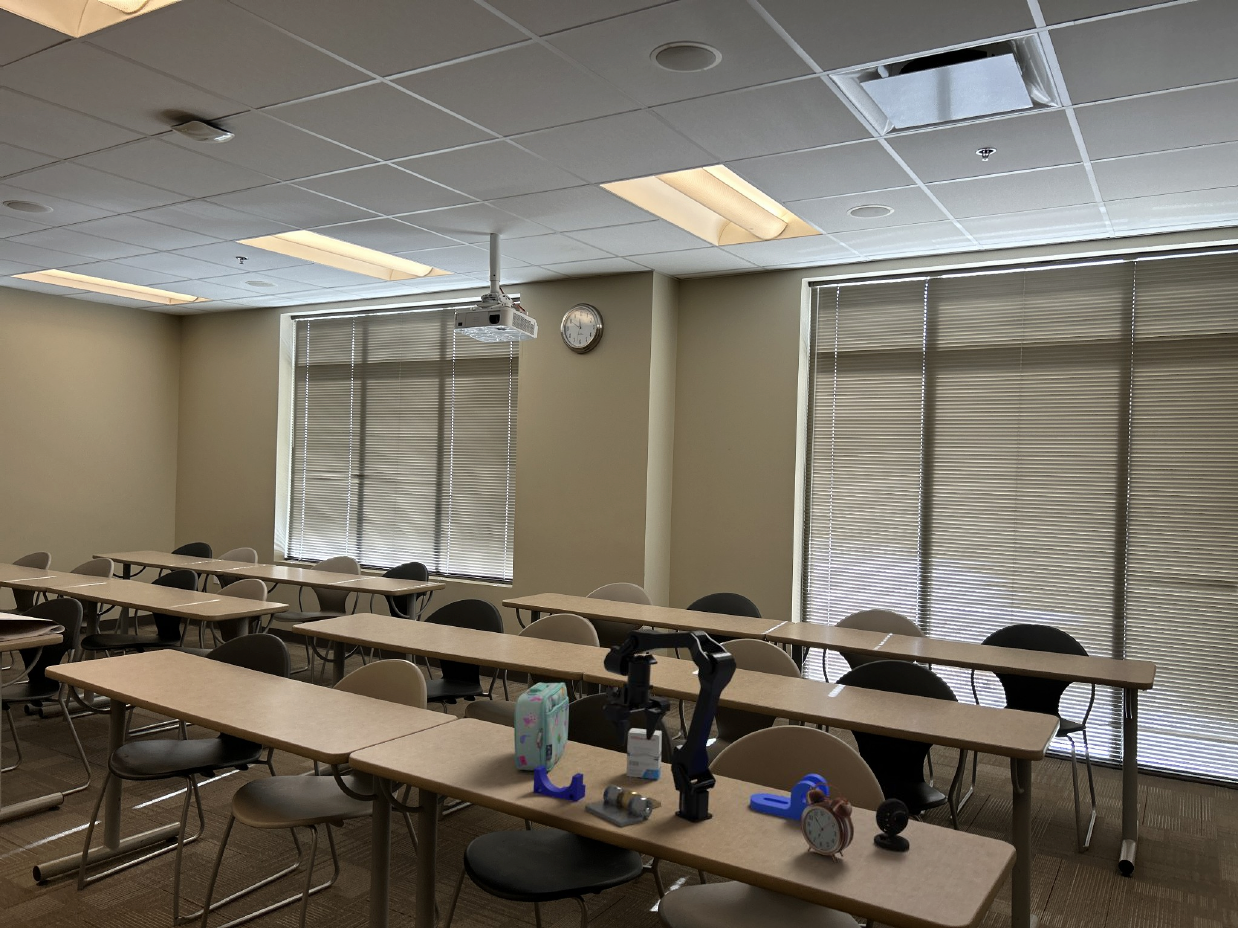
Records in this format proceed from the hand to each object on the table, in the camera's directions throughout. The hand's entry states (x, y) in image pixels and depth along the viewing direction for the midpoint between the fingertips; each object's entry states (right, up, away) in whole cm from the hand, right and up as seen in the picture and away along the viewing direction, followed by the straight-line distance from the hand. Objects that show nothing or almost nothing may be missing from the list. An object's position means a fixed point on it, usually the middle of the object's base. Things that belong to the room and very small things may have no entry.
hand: (635, 742), depth 219 cm
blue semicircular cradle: (-19, -12, -4) cm, 23 cm away
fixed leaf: (-4, -12, -16) cm, 20 cm away
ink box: (+2, -13, +13) cm, 18 cm away
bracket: (+36, -14, -9) cm, 40 cm away
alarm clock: (+40, -13, -34) cm, 54 cm away
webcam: (+56, -14, -27) cm, 64 cm away
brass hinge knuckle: (+1, -12, -11) cm, 16 cm away
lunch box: (-25, -12, +20) cm, 35 cm away
